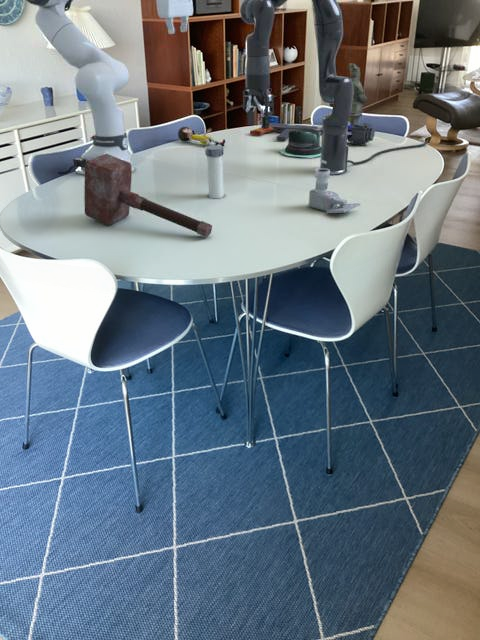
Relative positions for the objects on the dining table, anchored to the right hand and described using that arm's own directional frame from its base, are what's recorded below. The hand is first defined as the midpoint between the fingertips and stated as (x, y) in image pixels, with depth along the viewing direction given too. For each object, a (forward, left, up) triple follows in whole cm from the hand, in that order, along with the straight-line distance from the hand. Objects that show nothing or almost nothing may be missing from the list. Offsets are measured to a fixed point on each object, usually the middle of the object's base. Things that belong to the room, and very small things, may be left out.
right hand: (258, 126), depth 178 cm
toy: (-74, -33, -22) cm, 84 cm away
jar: (+14, -5, -22) cm, 26 cm away
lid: (+14, -5, -6) cm, 16 cm away
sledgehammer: (+44, +9, -22) cm, 50 cm away
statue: (-91, -54, -22) cm, 108 cm away
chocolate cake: (-46, -35, -22) cm, 62 cm away
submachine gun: (-59, -65, -22) cm, 90 cm away
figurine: (-18, -74, -22) cm, 79 cm away
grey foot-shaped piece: (-8, +28, -22) cm, 37 cm away
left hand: (+11, -31, +26) cm, 42 cm away
